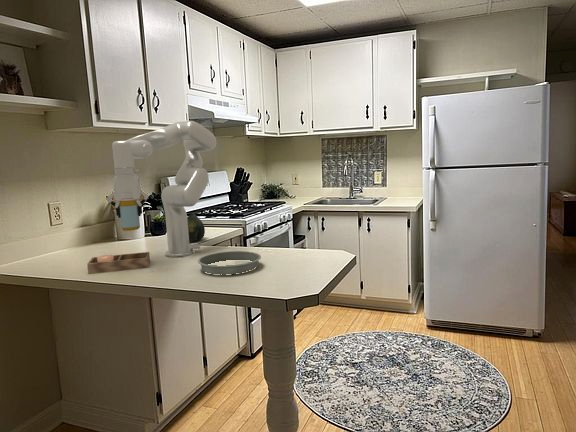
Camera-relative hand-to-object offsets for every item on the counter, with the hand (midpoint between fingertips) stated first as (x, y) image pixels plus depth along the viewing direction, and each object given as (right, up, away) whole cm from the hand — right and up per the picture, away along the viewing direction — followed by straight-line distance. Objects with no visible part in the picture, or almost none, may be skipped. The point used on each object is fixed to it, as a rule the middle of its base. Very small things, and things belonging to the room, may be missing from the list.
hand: (129, 216), depth 178 cm
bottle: (0, -5, +1) cm, 6 cm away
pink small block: (-10, -21, 0) cm, 23 cm away
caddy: (-4, -22, +2) cm, 22 cm away
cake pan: (+41, -21, -4) cm, 46 cm away
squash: (+13, -13, +55) cm, 58 cm away
